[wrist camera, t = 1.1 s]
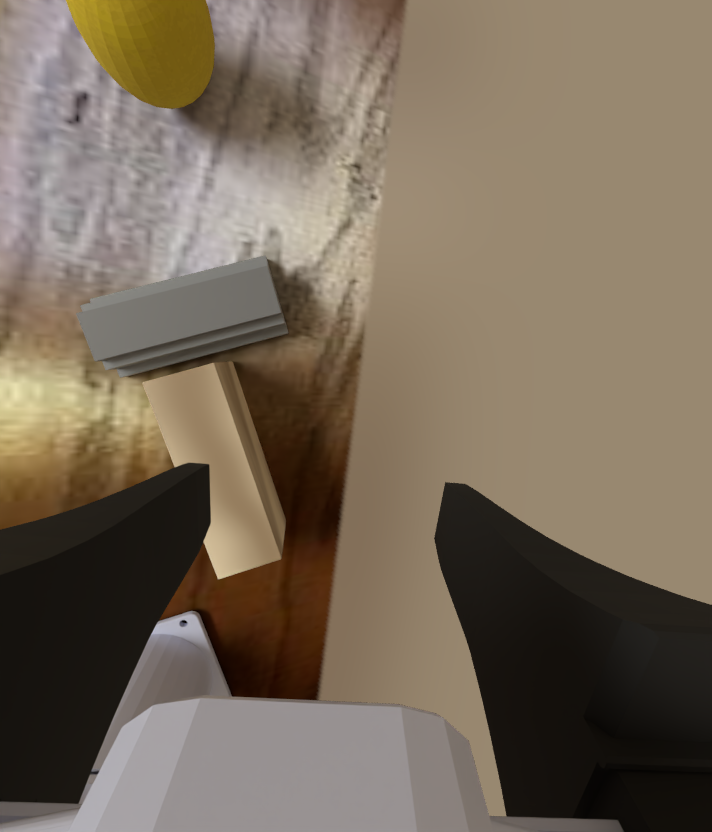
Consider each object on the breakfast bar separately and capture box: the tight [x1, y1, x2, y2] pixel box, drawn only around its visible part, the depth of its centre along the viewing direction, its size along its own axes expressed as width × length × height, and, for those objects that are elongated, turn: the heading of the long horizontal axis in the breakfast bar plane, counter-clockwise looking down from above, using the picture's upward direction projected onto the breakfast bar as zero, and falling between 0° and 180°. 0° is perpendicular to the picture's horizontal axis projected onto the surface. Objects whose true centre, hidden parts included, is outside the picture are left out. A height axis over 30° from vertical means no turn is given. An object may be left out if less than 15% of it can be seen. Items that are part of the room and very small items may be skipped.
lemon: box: [66, 0, 215, 109], centre depth 17 cm, size 6×6×8 cm
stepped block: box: [76, 256, 289, 377], centre depth 21 cm, size 10×4×3 cm, turn 105°
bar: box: [142, 361, 286, 579], centre depth 22 cm, size 4×11×5 cm, turn 16°
